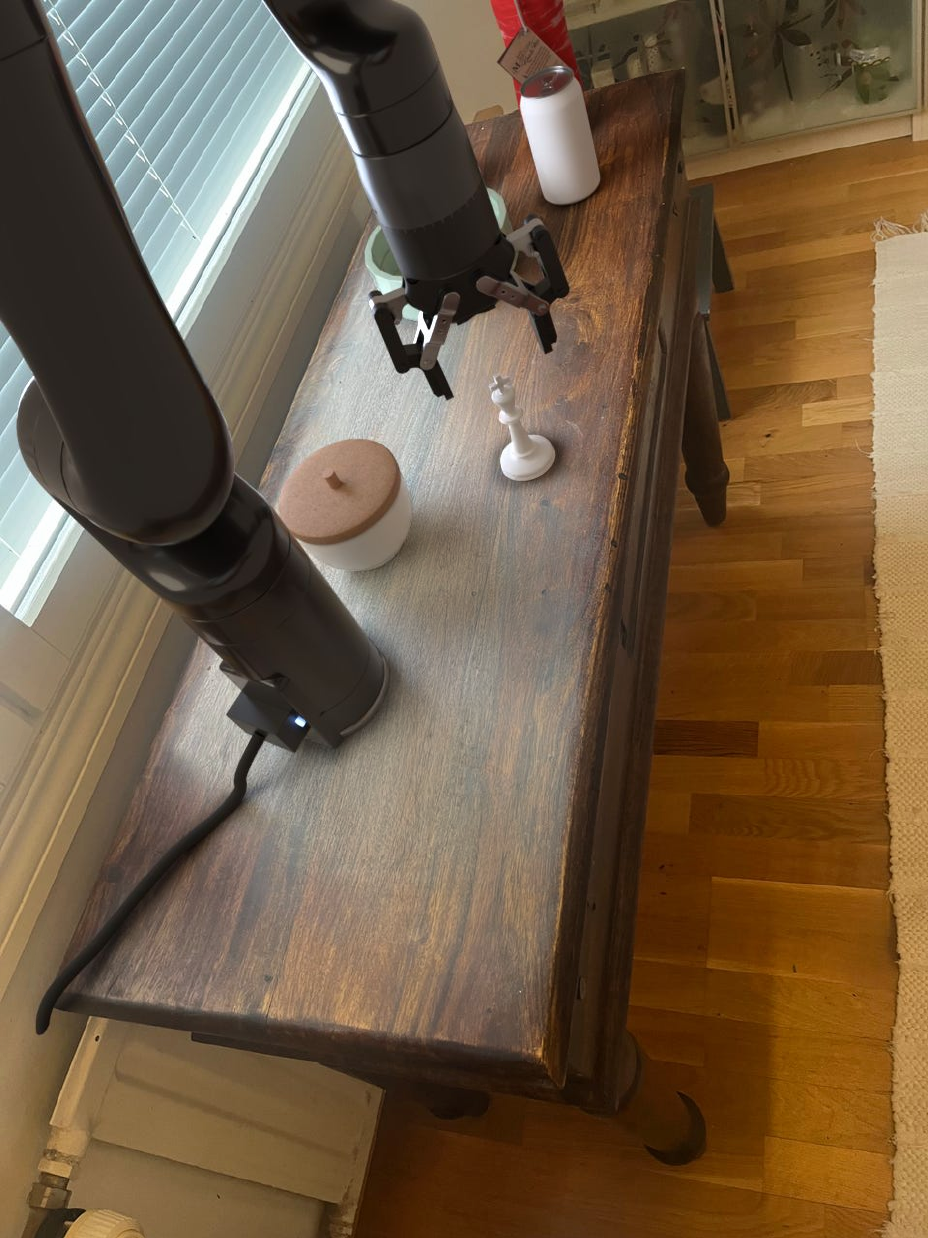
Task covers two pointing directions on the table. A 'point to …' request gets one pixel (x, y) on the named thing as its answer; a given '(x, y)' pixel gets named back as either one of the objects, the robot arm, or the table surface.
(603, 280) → the table surface
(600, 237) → the table surface
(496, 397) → the chess piece
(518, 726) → the table surface
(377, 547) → the trinket box
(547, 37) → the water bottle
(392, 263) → the bowl
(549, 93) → the can
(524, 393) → the table surface
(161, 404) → the robot arm
